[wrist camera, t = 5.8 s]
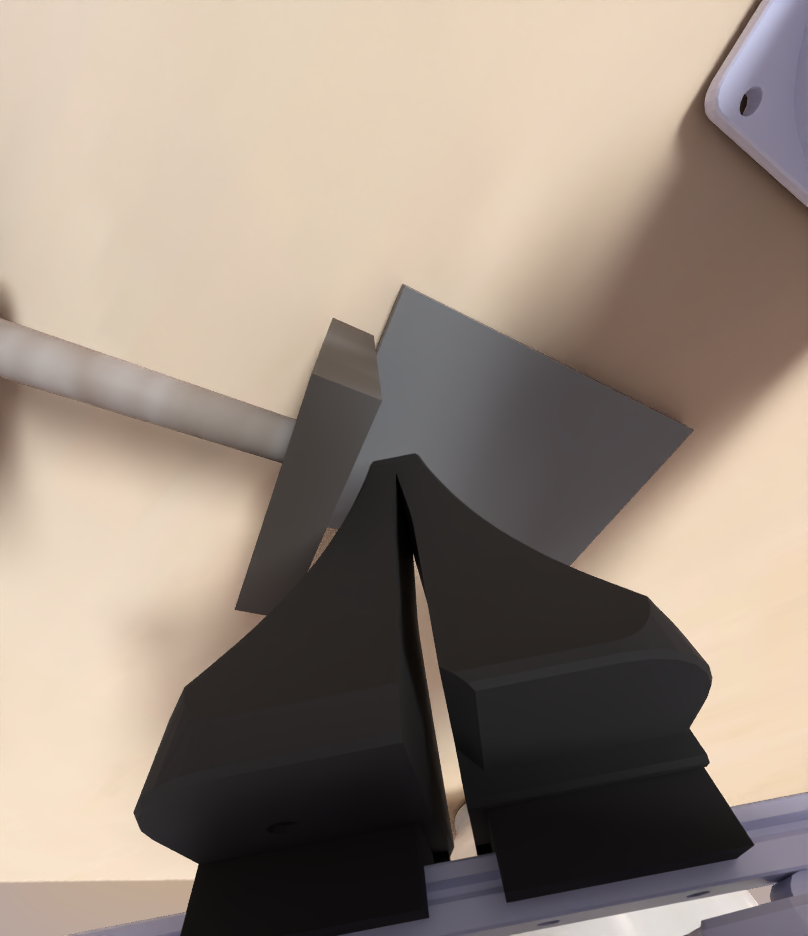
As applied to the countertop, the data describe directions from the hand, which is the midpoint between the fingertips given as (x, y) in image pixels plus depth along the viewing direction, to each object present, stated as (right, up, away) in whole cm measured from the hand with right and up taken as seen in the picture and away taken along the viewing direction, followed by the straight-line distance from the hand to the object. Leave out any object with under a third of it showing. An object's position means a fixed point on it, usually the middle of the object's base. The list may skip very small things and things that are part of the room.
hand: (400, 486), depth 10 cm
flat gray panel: (+4, 0, +4) cm, 6 cm away
